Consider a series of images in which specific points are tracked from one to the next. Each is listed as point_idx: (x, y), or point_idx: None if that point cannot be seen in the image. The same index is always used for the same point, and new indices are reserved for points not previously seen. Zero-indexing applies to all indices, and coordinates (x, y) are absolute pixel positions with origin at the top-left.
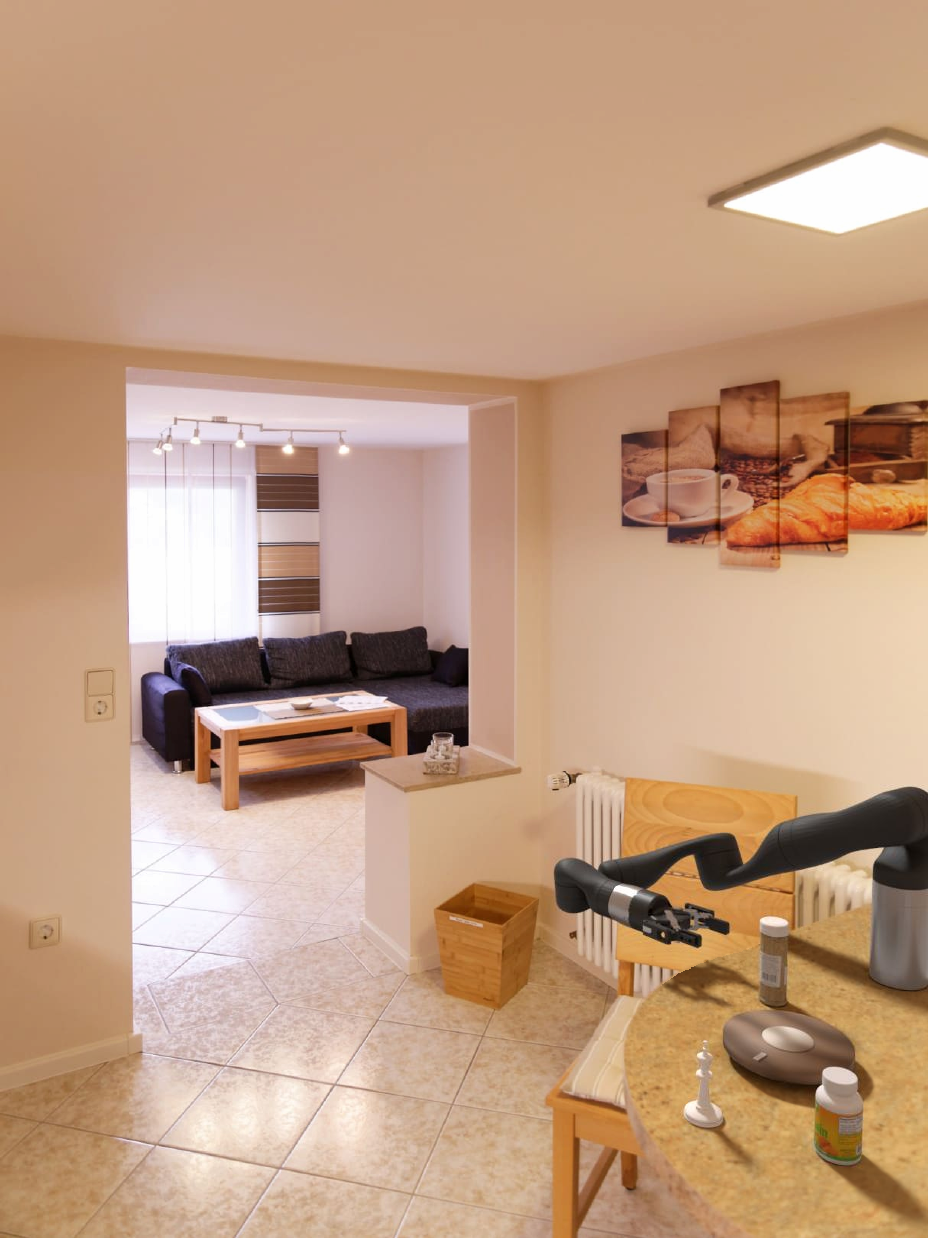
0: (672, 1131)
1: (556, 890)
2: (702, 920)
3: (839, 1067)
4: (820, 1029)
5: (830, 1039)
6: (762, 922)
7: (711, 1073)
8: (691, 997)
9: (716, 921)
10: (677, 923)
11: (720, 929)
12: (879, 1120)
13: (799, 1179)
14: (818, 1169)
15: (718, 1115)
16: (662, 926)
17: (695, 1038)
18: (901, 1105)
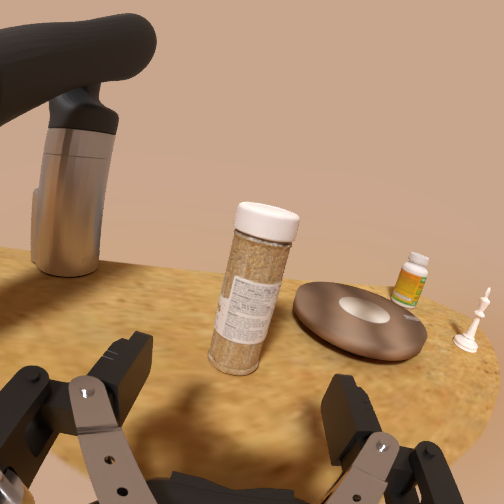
0: (486, 349)
1: None
2: (41, 449)
3: (415, 254)
4: (314, 295)
5: (323, 290)
6: (296, 217)
7: (475, 310)
8: None
9: (134, 366)
10: (352, 465)
11: (140, 377)
12: None
13: (434, 310)
14: (420, 307)
15: (459, 334)
16: (435, 483)
17: (424, 392)
18: None
